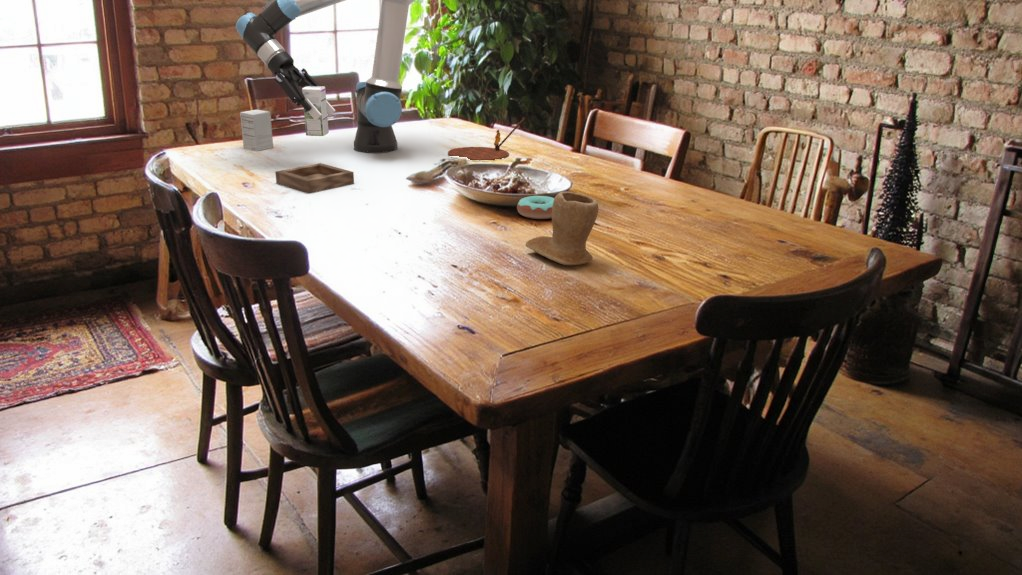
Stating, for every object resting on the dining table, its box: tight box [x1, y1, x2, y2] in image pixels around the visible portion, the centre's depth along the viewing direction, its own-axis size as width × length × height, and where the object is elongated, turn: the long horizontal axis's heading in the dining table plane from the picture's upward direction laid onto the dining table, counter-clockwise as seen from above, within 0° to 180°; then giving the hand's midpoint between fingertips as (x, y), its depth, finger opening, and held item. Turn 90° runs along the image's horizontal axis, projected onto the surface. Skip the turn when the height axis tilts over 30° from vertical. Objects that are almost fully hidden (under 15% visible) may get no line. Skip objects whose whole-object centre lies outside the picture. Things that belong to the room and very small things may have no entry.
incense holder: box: [447, 117, 526, 161], centre depth 290 cm, size 21×30×11 cm
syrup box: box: [301, 85, 330, 137], centre depth 259 cm, size 6×6×14 cm
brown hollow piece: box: [525, 191, 599, 266], centre depth 187 cm, size 15×12×15 cm
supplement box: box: [239, 109, 274, 152], centre depth 290 cm, size 7×7×13 cm
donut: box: [516, 195, 555, 220], centre depth 222 cm, size 12×12×4 cm
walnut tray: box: [274, 162, 355, 194], centre depth 248 cm, size 16×16×4 cm
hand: (325, 115), depth 258 cm, fingers closed on syrup box, 7 cm apart
